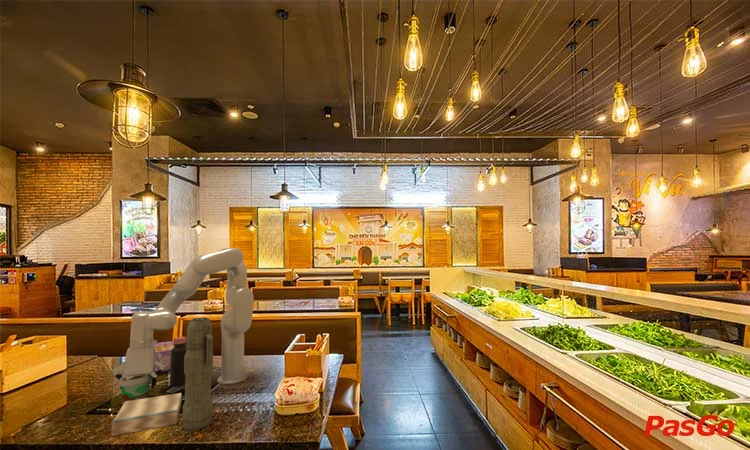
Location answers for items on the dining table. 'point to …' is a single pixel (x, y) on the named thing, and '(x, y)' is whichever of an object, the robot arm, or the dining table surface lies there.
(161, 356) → the bowl of food
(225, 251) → the robot arm
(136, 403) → the dock
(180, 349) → the bottle
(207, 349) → the thermos
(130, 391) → the food container
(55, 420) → the dining table surface
